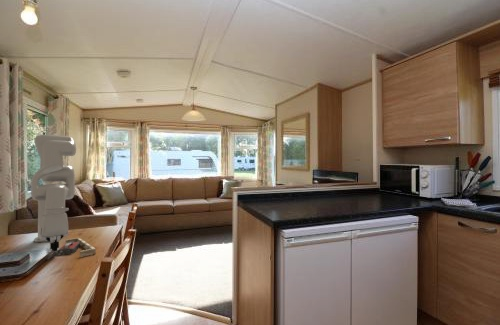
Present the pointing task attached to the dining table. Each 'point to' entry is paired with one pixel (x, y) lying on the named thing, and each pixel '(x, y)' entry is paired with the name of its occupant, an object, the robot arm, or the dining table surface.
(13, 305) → the dining table surface
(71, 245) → the walkie-talkie
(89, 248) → the beige segmented bracket
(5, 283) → the dining table surface
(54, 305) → the dining table surface
